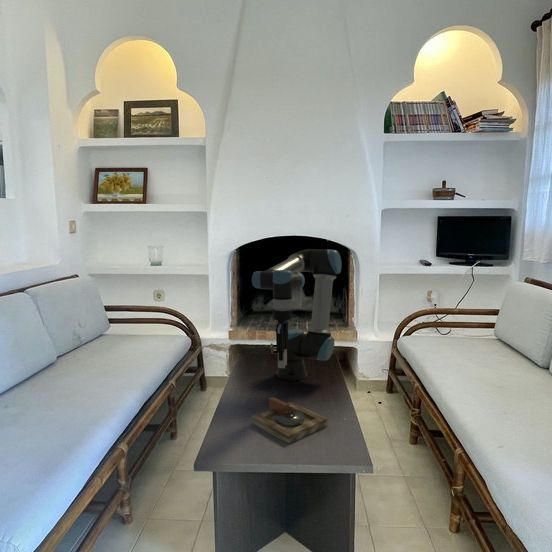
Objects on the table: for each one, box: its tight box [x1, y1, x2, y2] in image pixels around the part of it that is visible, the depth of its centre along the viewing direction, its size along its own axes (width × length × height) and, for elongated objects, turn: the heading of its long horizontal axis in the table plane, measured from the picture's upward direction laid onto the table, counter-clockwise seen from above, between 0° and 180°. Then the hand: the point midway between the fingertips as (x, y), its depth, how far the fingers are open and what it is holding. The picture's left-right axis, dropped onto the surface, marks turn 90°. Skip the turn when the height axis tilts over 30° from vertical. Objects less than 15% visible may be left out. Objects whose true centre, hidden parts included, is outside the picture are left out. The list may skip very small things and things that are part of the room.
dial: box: [268, 396, 305, 427], centre depth 159 cm, size 16×11×5 cm, turn 41°
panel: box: [252, 401, 329, 444], centre depth 157 cm, size 20×20×3 cm
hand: (282, 366), depth 167 cm, fingers open, 3 cm apart
